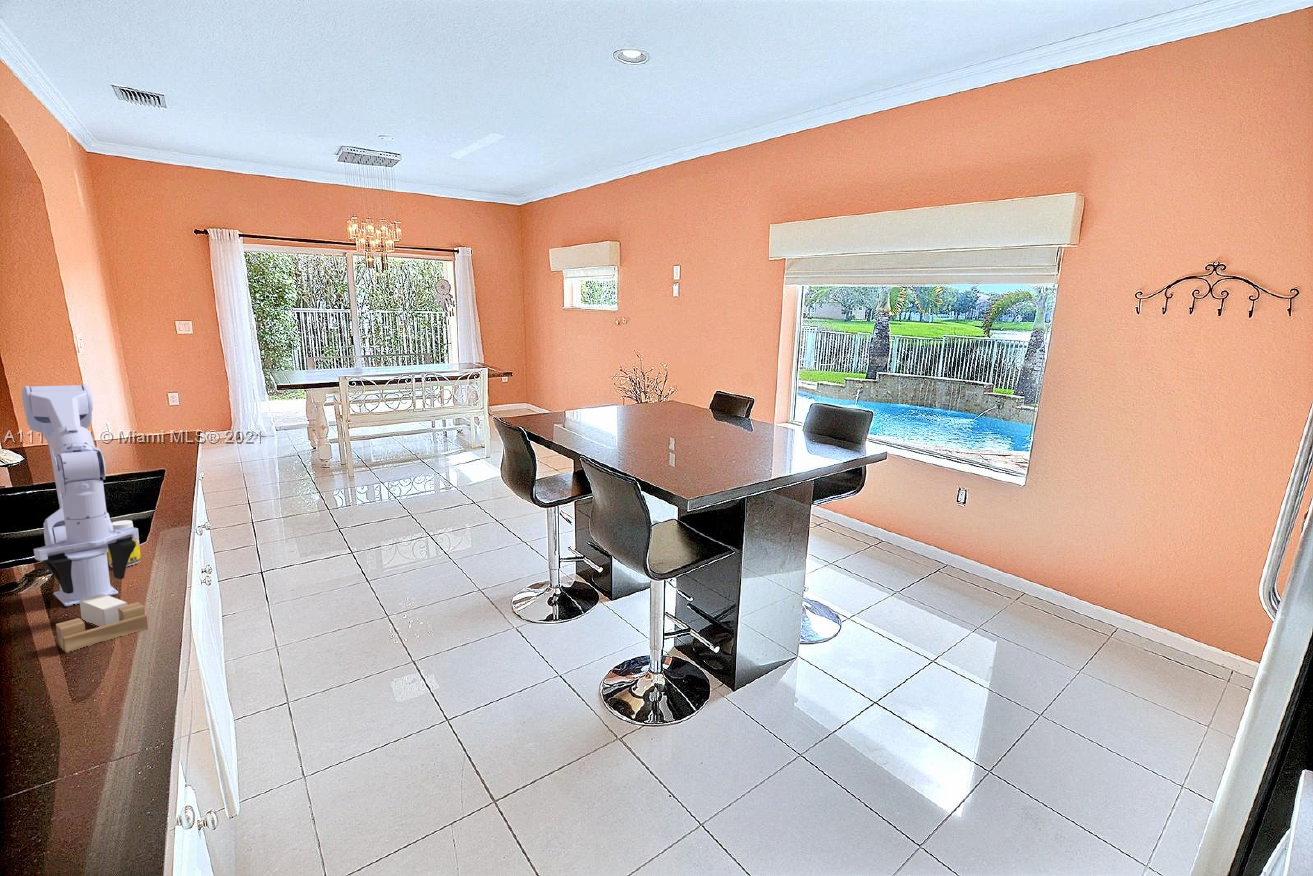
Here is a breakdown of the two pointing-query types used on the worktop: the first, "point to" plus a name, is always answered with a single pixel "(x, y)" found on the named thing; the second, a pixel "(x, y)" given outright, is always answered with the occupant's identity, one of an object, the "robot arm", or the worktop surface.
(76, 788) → the worktop surface
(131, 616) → the tan bridge
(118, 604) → the white block
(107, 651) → the worktop surface
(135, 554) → the supplement bottle
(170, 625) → the worktop surface
